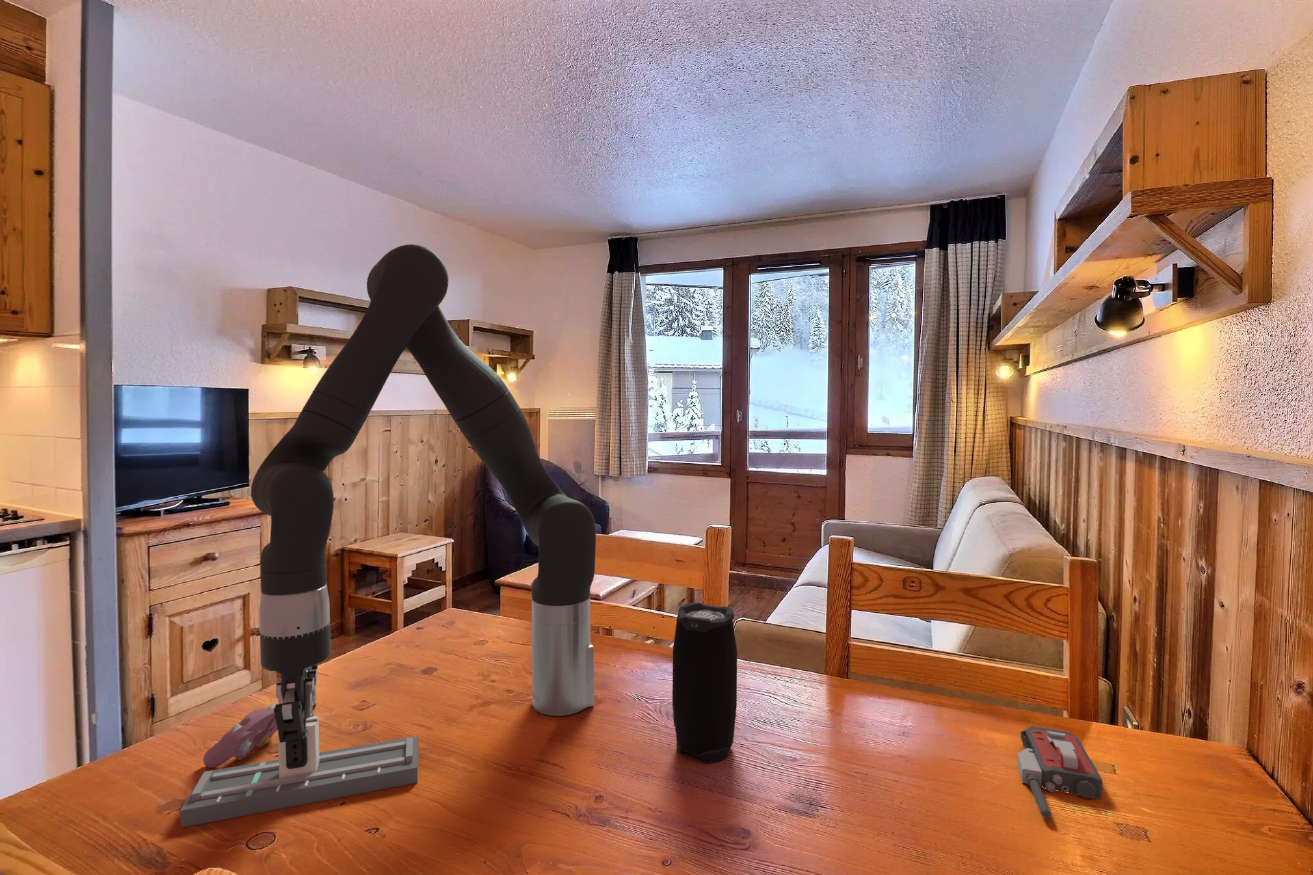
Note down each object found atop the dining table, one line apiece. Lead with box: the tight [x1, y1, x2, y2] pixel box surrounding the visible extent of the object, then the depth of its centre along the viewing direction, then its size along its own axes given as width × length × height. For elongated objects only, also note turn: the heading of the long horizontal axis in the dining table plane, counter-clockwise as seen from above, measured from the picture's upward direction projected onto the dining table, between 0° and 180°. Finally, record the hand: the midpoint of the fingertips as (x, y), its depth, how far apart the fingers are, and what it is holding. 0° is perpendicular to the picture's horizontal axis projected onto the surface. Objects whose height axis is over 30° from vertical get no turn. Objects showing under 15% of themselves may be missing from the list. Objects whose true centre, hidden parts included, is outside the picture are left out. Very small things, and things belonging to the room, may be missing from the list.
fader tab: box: [277, 715, 320, 779], centre depth 78 cm, size 4×2×6 cm, turn 110°
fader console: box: [179, 735, 419, 828], centre depth 79 cm, size 25×8×3 cm, turn 110°
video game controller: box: [202, 703, 278, 769], centre depth 87 cm, size 10×5×7 cm, turn 168°
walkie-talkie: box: [1016, 725, 1104, 820], centre depth 80 cm, size 9×4×20 cm
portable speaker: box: [671, 602, 738, 764], centre depth 87 cm, size 9×9×20 cm
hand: (299, 758), depth 79 cm, fingers closed on fader tab, 2 cm apart
